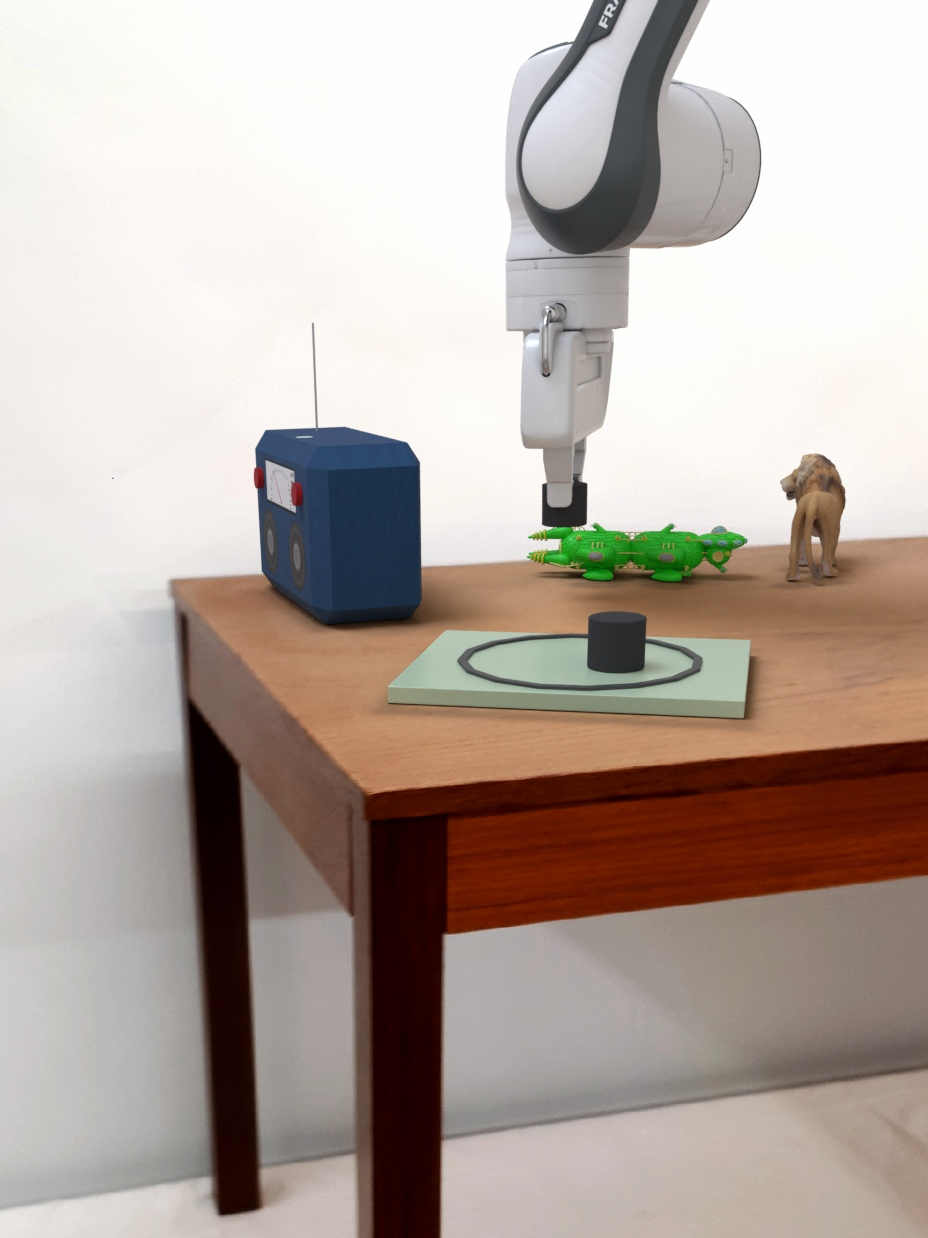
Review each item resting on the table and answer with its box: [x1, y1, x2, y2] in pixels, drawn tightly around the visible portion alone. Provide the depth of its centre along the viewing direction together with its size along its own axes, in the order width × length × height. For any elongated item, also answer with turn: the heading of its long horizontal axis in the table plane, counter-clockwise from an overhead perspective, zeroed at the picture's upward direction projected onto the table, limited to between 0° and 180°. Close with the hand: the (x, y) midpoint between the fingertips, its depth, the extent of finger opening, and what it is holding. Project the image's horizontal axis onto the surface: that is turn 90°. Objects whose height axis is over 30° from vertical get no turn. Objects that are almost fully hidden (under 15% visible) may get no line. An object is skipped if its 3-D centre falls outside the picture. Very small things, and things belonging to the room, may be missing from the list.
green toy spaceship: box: [526, 522, 749, 582], centre depth 122 cm, size 7×18×4 cm, turn 80°
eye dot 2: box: [587, 610, 648, 673], centre depth 87 cm, size 3×3×3 cm
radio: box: [253, 322, 423, 625], centre depth 110 cm, size 21×9×20 cm, turn 18°
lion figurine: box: [779, 452, 847, 580], centre depth 122 cm, size 15×5×9 cm, turn 171°
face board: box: [387, 629, 752, 719], centre depth 89 cm, size 20×16×1 cm
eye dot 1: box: [541, 481, 589, 528], centre depth 111 cm, size 3×3×3 cm
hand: (565, 502), depth 111 cm, fingers closed on eye dot 1, 3 cm apart
